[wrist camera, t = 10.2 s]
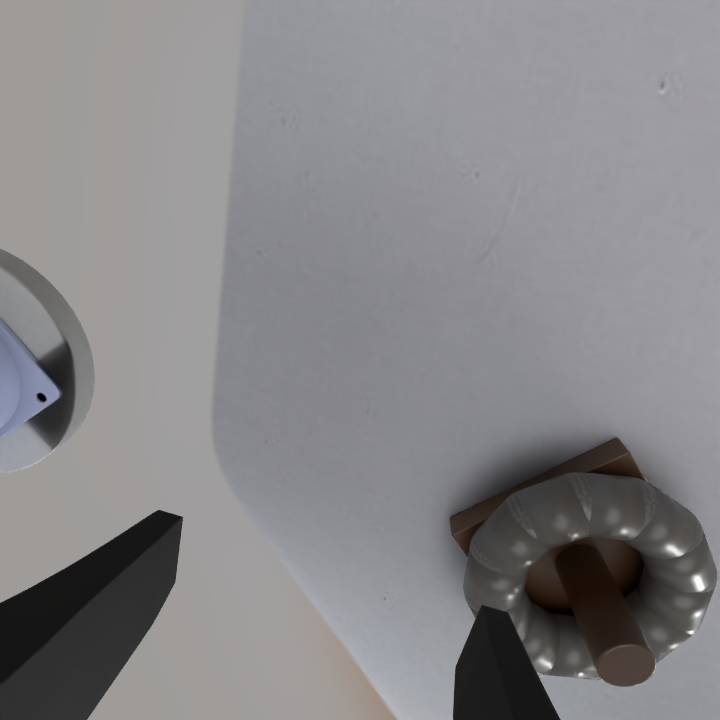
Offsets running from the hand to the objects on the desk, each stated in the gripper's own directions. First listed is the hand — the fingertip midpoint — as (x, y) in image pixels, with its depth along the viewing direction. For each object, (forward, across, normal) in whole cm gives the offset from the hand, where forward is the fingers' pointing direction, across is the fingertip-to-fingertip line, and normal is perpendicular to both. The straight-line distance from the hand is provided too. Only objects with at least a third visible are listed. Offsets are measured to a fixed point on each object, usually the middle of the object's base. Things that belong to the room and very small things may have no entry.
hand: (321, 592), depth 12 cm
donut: (+9, -10, +4) cm, 14 cm away
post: (+11, -10, +5) cm, 16 cm away
